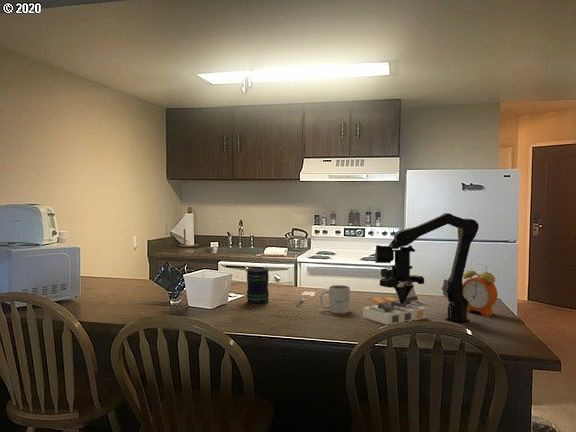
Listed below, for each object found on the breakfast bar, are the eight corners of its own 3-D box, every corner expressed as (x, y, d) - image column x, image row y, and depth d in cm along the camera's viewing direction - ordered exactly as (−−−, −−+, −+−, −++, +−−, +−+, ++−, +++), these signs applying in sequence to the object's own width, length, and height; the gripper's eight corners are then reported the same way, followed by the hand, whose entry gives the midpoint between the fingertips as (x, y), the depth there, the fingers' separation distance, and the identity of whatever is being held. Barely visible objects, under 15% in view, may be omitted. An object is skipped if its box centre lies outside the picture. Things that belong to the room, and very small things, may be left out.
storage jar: (243, 304, 211) (243, 270, 210) (250, 299, 220) (250, 267, 220) (265, 305, 208) (265, 271, 208) (271, 300, 218) (271, 268, 217)
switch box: (426, 318, 186) (426, 305, 186) (388, 325, 175) (389, 312, 175) (399, 311, 198) (399, 299, 198) (363, 317, 187) (363, 304, 187)
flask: (418, 303, 212) (418, 281, 212) (402, 303, 214) (402, 281, 213) (417, 300, 219) (417, 278, 219) (401, 299, 221) (401, 278, 220)
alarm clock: (459, 310, 198) (460, 263, 198) (467, 308, 202) (467, 262, 202) (490, 316, 188) (490, 266, 188) (497, 314, 192) (498, 265, 191)
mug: (349, 308, 202) (349, 285, 202) (349, 313, 194) (349, 289, 193) (320, 307, 204) (321, 284, 203) (319, 312, 195) (319, 288, 195)
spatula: (315, 295, 234) (315, 292, 234) (303, 308, 205) (303, 304, 205) (303, 294, 235) (303, 291, 235) (290, 307, 207) (290, 304, 207)
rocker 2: (405, 308, 184) (406, 302, 184) (399, 310, 182) (399, 303, 182) (389, 302, 191) (389, 297, 191) (383, 303, 189) (383, 297, 189)
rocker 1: (392, 312, 181) (394, 307, 180) (386, 313, 179) (387, 308, 178) (377, 302, 188) (378, 296, 187) (370, 303, 186) (371, 297, 186)
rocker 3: (418, 302, 187) (417, 296, 187) (412, 303, 185) (410, 296, 186) (402, 305, 194) (401, 300, 195) (396, 306, 192) (395, 301, 193)
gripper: (404, 259, 195) (404, 297, 195) (369, 262, 185) (369, 302, 185) (425, 262, 185) (425, 302, 185) (390, 265, 175) (390, 307, 175)
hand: (402, 303), depth 183 cm, fingers closed, pressing on rocker 2
